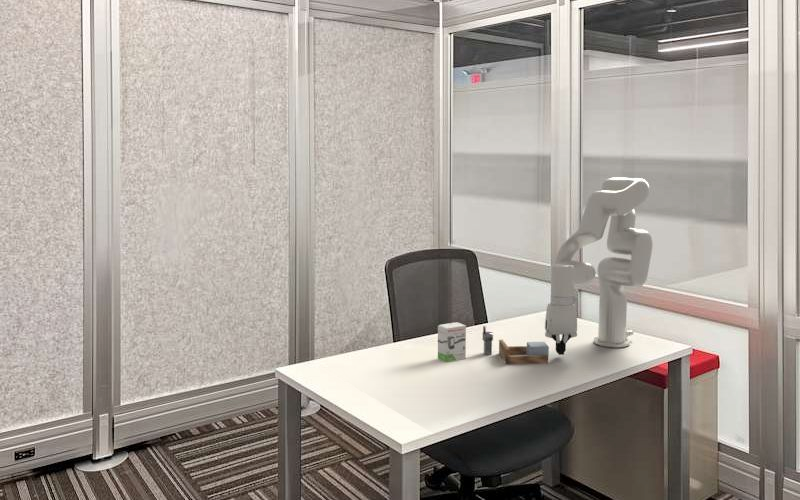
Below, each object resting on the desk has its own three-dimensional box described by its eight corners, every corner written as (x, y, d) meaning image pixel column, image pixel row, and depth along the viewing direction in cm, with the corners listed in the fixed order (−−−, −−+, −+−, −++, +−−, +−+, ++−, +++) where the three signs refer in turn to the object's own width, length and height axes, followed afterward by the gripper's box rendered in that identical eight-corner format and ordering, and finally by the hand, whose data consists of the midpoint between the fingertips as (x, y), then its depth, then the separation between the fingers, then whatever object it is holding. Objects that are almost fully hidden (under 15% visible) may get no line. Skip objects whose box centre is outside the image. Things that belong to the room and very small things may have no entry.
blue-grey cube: (543, 355, 230) (544, 341, 229) (548, 361, 224) (548, 346, 223) (526, 356, 230) (526, 342, 229) (530, 361, 224) (530, 346, 223)
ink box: (445, 362, 223) (445, 328, 221) (437, 358, 227) (437, 325, 225) (466, 358, 227) (466, 324, 225) (457, 355, 231) (458, 321, 230)
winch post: (491, 352, 234) (492, 324, 233) (493, 355, 231) (494, 327, 229) (481, 352, 234) (481, 325, 233) (483, 355, 230) (483, 327, 229)
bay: (538, 352, 233) (539, 338, 232) (547, 363, 221) (548, 348, 220) (498, 353, 232) (499, 339, 232) (505, 364, 221) (506, 349, 220)
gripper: (580, 298, 229) (578, 350, 231) (537, 298, 228) (535, 350, 230) (587, 302, 221) (585, 356, 224) (542, 303, 221) (541, 357, 223)
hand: (560, 353), depth 227 cm, fingers closed
